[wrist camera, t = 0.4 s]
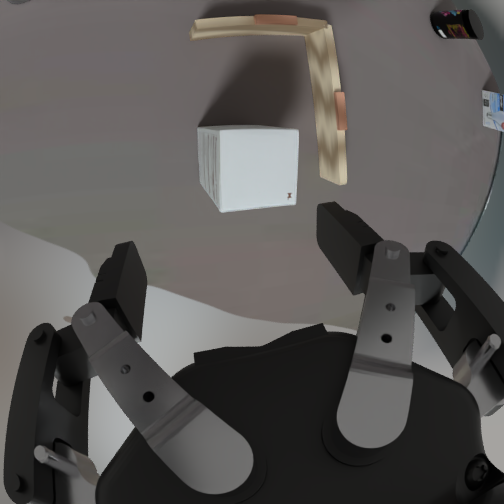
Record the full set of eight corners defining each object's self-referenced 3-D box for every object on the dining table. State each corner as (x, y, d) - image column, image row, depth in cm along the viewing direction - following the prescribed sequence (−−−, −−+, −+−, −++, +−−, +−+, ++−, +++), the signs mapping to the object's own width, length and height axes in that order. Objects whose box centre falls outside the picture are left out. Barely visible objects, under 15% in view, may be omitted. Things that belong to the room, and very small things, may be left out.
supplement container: (446, 24, 32) (483, 23, 23) (445, 44, 34) (483, 46, 26) (429, 6, 29) (468, 3, 21) (428, 26, 32) (468, 25, 23)
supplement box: (253, 123, 33) (302, 128, 22) (252, 178, 36) (298, 207, 26) (195, 125, 31) (218, 127, 20) (197, 183, 34) (220, 215, 24)
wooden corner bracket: (189, 32, 25) (196, 18, 20) (310, 29, 28) (333, 20, 24) (218, 200, 36) (229, 214, 31) (326, 175, 40) (349, 185, 35)
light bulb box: (481, 89, 43) (513, 96, 34) (489, 92, 44) (519, 99, 35) (482, 126, 48) (514, 136, 39) (490, 127, 50) (520, 136, 41)
